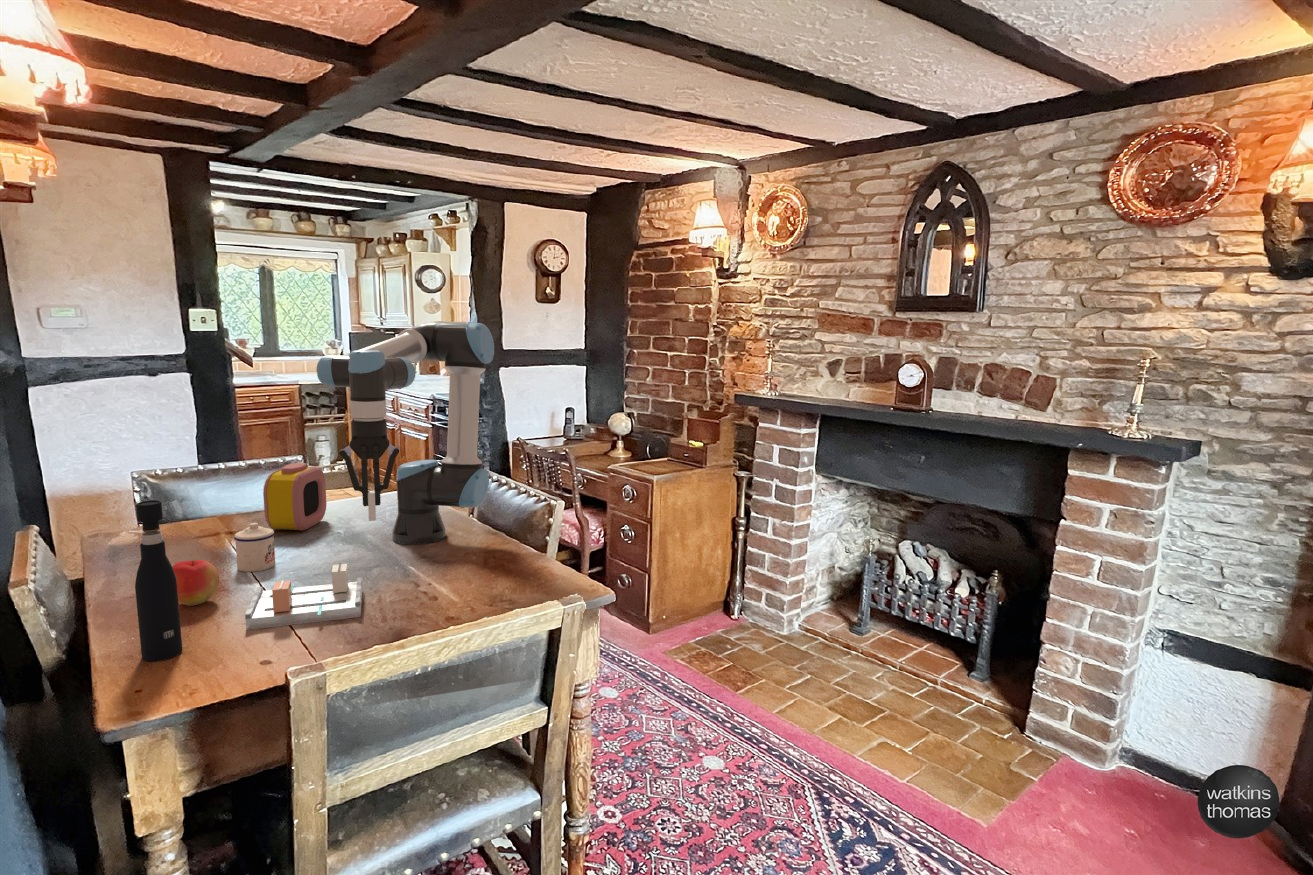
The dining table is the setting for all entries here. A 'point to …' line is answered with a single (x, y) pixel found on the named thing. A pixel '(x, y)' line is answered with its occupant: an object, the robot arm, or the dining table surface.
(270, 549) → the teacup with lid
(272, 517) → the alarm clock
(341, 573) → the fader
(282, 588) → the fader
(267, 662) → the dining table surface
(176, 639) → the black water bottle
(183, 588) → the apple
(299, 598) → the console
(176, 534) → the dining table surface
